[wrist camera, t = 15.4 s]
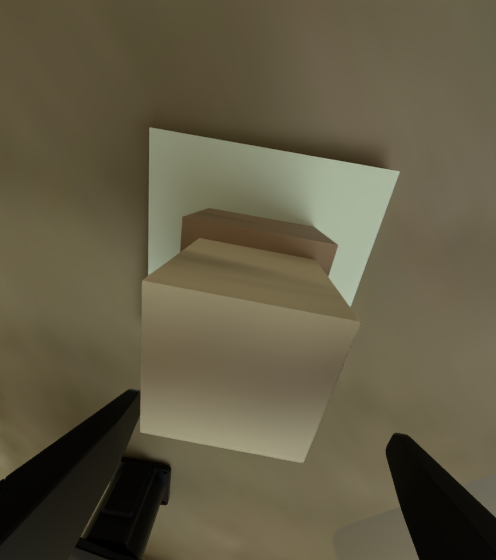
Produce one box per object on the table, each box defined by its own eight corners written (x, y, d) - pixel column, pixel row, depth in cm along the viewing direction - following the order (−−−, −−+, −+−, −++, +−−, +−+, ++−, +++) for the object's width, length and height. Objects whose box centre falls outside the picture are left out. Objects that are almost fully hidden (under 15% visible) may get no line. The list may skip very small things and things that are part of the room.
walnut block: (289, 318, 17) (299, 368, 12) (199, 302, 17) (174, 345, 12) (314, 226, 14) (338, 244, 10) (209, 207, 14) (182, 216, 10)
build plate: (323, 359, 19) (327, 370, 18) (154, 329, 19) (147, 337, 18) (389, 172, 14) (399, 171, 13) (158, 132, 14) (149, 127, 13)
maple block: (288, 355, 12) (303, 462, 7) (189, 336, 12) (140, 432, 7) (315, 260, 10) (361, 321, 5) (199, 238, 10) (141, 280, 5)
